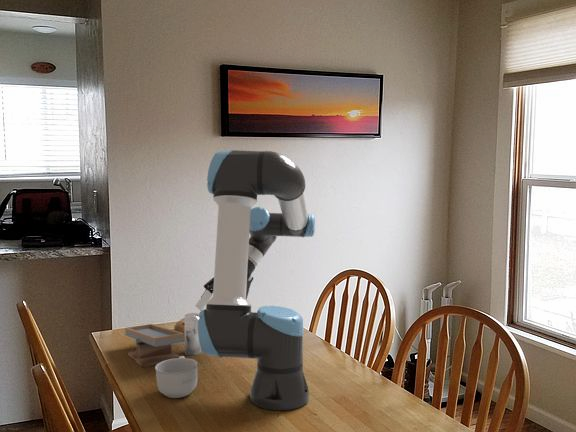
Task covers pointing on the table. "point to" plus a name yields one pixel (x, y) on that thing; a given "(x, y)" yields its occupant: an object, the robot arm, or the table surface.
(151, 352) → the fulcrum
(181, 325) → the bread roll
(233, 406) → the table surface
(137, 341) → the rectangular tray
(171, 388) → the teacup
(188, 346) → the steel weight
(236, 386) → the table surface
